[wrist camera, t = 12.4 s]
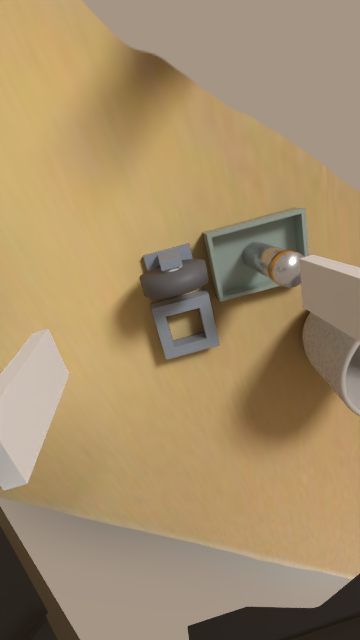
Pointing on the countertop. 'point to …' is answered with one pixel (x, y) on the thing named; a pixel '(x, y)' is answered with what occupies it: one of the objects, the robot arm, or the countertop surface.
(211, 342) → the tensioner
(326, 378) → the planter
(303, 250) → the tray
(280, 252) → the pin
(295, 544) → the countertop surface
